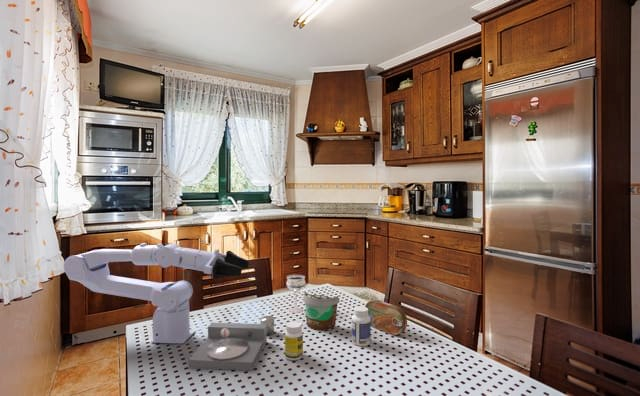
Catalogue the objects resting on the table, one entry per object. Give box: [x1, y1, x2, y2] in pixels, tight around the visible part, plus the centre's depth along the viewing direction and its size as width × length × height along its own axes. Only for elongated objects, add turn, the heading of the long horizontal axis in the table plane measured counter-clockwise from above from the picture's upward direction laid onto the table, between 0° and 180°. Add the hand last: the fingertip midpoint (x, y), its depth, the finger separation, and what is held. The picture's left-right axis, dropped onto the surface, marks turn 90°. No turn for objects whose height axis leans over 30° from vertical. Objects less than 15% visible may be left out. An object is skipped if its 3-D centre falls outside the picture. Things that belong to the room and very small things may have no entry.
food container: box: [302, 291, 340, 331], centre depth 103 cm, size 12×6×10 cm, turn 68°
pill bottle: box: [351, 306, 372, 347], centre depth 94 cm, size 5×5×10 cm
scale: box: [187, 322, 268, 371], centre depth 87 cm, size 16×15×5 cm
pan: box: [207, 338, 248, 360], centre depth 85 cm, size 10×10×1 cm
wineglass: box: [286, 274, 306, 314], centre depth 118 cm, size 7×7×12 cm
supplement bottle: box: [284, 321, 304, 361], centre depth 86 cm, size 5×5×8 cm
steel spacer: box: [260, 315, 275, 337], centre depth 99 cm, size 4×4×4 cm
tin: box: [364, 299, 408, 336], centre depth 102 cm, size 15×3×8 cm, turn 41°
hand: (245, 268), depth 95 cm, fingers open, 7 cm apart
